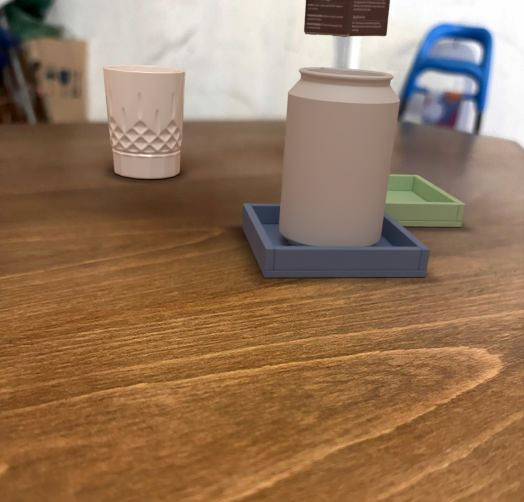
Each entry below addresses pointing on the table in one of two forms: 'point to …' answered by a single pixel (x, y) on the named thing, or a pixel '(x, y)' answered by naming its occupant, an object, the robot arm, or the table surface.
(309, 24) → the box
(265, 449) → the table surface
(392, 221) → the tray blue
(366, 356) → the table surface
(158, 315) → the table surface
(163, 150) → the white cup
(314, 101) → the can
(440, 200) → the tray green
